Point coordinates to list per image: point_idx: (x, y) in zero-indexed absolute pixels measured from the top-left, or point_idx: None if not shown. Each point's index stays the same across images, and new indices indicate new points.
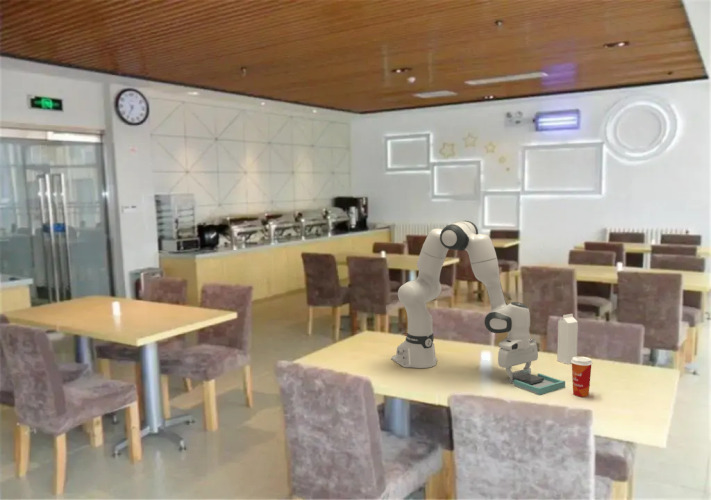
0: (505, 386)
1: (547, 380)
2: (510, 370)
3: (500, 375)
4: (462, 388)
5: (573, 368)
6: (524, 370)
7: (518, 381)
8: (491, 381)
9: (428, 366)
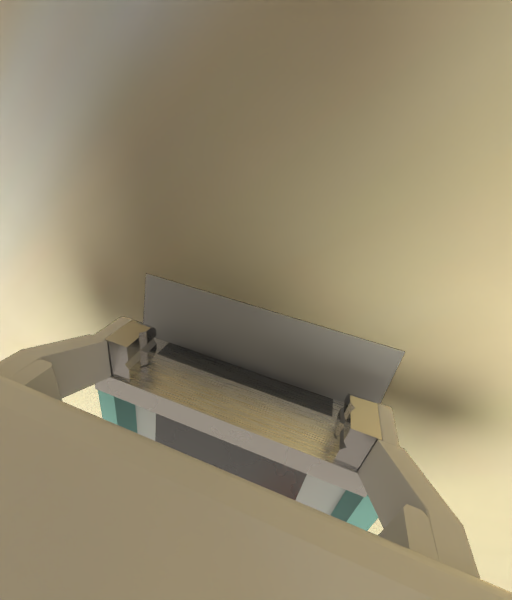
0: (79, 326)
1: (331, 513)
2: (67, 389)
3: (227, 148)
4: None
5: None
6: (260, 449)
7: (105, 416)
8: (50, 194)
9: None
